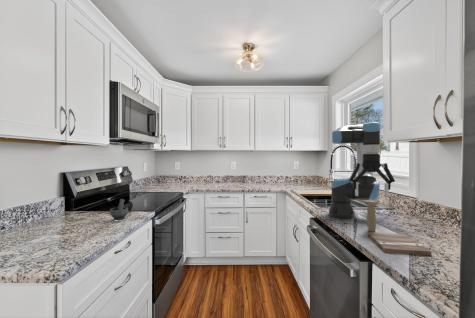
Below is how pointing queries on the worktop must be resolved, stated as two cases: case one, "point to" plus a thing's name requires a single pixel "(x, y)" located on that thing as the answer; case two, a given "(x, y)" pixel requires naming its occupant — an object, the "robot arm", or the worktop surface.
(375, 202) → the handle
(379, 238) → the board
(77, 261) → the worktop surface
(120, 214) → the mortar and pestle
